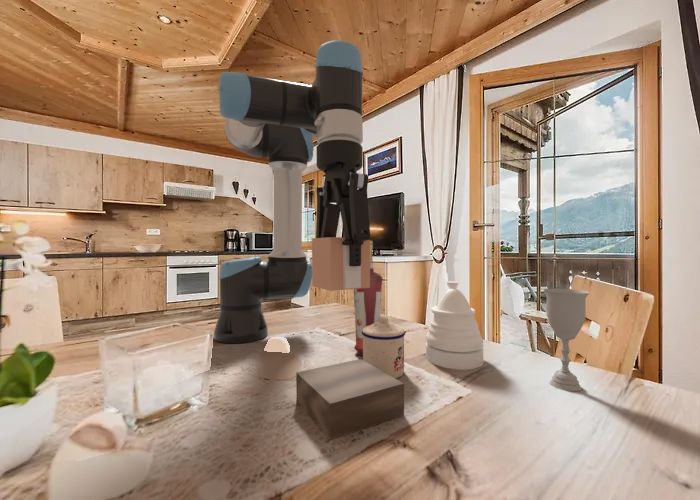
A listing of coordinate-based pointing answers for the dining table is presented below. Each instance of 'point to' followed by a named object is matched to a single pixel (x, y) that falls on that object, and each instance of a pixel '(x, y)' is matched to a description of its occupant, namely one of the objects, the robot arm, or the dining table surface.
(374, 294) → the liquor
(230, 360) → the dining table surface
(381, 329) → the teacup with lid
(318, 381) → the plinth
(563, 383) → the chalice
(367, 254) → the terracotta block
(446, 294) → the honey pot
